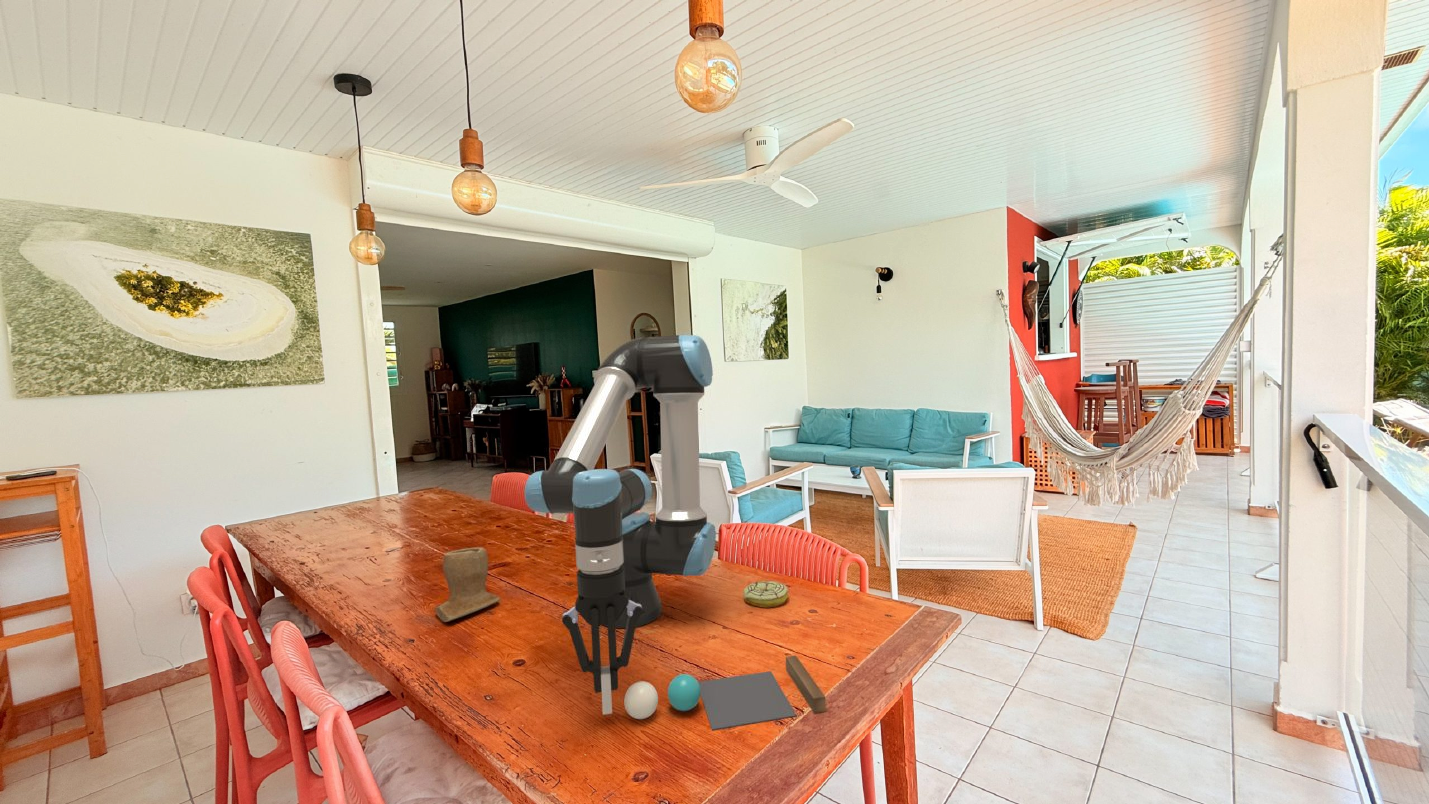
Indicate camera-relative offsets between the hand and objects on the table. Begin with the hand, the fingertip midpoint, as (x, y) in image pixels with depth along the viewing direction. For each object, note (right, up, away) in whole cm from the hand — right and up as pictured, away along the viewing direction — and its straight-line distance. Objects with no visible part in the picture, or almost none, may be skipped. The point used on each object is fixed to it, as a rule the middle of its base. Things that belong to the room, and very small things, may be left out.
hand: (607, 708), depth 92 cm
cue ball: (+5, +1, +1) cm, 6 cm away
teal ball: (+12, +1, +3) cm, 13 cm away
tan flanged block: (-44, -1, +47) cm, 64 cm away
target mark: (+22, -1, +5) cm, 23 cm away
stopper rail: (+33, 0, +7) cm, 34 cm away
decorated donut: (+30, +1, +46) cm, 55 cm away
